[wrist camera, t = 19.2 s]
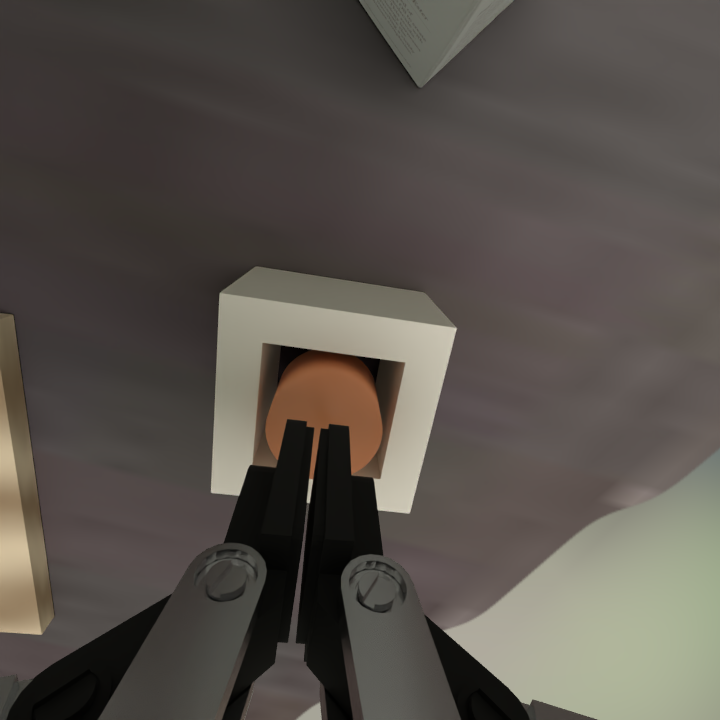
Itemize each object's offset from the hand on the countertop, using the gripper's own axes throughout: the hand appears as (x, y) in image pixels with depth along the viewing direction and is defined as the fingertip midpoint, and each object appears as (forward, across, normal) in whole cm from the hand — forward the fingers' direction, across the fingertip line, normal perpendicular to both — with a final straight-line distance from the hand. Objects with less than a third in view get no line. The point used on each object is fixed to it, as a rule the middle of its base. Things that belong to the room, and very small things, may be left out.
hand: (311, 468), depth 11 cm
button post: (+10, 0, +1) cm, 10 cm away
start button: (+6, 0, +1) cm, 6 cm away
